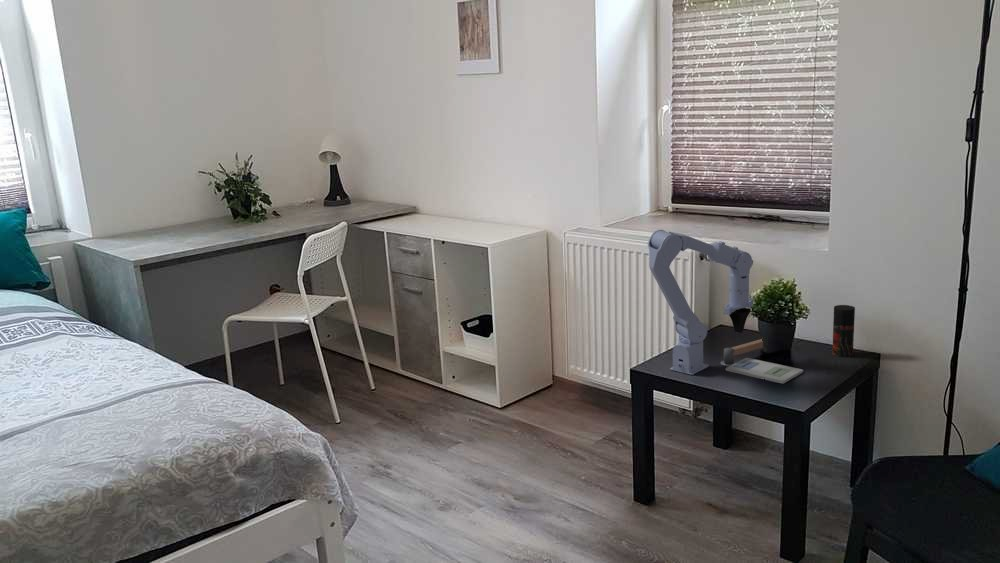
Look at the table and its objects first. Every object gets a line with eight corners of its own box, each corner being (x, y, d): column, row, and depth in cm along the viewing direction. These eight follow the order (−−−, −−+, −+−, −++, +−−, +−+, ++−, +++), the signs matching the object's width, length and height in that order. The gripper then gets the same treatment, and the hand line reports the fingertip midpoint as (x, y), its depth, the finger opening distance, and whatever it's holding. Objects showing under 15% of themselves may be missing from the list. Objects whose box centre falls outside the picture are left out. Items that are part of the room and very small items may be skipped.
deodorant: (854, 357, 251) (856, 310, 247) (834, 356, 252) (835, 310, 249) (850, 350, 257) (852, 304, 253) (830, 350, 258) (832, 304, 254)
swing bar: (728, 364, 250) (728, 351, 249) (721, 361, 252) (721, 349, 252) (779, 349, 260) (779, 337, 259) (771, 347, 263) (772, 335, 262)
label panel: (783, 383, 233) (783, 380, 233) (711, 367, 250) (711, 364, 250) (803, 372, 241) (803, 369, 241) (731, 356, 258) (731, 353, 258)
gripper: (738, 296, 241) (738, 339, 244) (763, 285, 251) (762, 328, 254) (717, 292, 246) (717, 335, 249) (742, 282, 256) (742, 324, 259)
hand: (738, 331), depth 252 cm, fingers closed
